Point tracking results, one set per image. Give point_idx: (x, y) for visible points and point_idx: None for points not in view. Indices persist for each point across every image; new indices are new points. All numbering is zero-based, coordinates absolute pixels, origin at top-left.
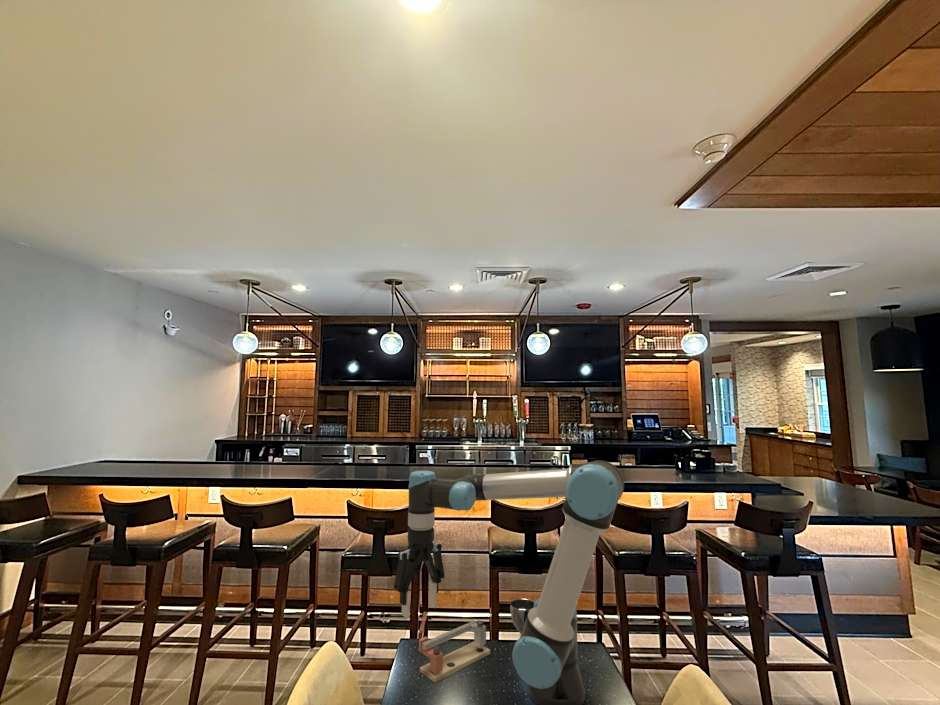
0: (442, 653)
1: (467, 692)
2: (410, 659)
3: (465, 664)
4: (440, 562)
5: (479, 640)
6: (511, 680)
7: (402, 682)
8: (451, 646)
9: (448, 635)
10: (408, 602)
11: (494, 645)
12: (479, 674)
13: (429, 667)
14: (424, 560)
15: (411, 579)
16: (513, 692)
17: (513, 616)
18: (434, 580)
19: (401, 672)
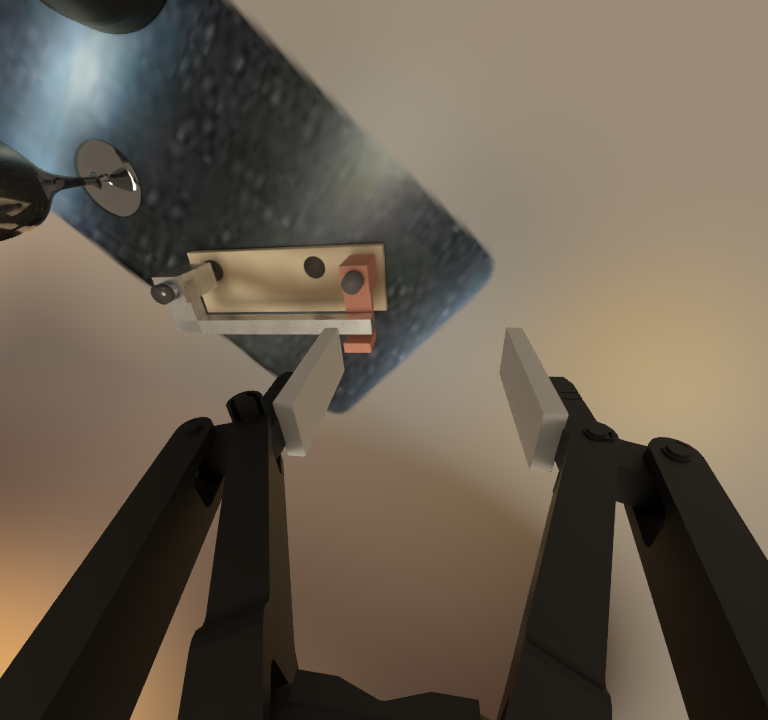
0: (340, 266)
1: (337, 139)
2: (376, 359)
3: (277, 248)
4: (120, 548)
5: (200, 269)
6: (193, 93)
7: (445, 299)
8: (267, 340)
9: (281, 319)
10: (539, 370)
11: None
12: (264, 191)
13: None
14: (339, 697)
15: (558, 500)
16: (216, 27)
17: (13, 193)
18: (274, 433)
19: (422, 333)
